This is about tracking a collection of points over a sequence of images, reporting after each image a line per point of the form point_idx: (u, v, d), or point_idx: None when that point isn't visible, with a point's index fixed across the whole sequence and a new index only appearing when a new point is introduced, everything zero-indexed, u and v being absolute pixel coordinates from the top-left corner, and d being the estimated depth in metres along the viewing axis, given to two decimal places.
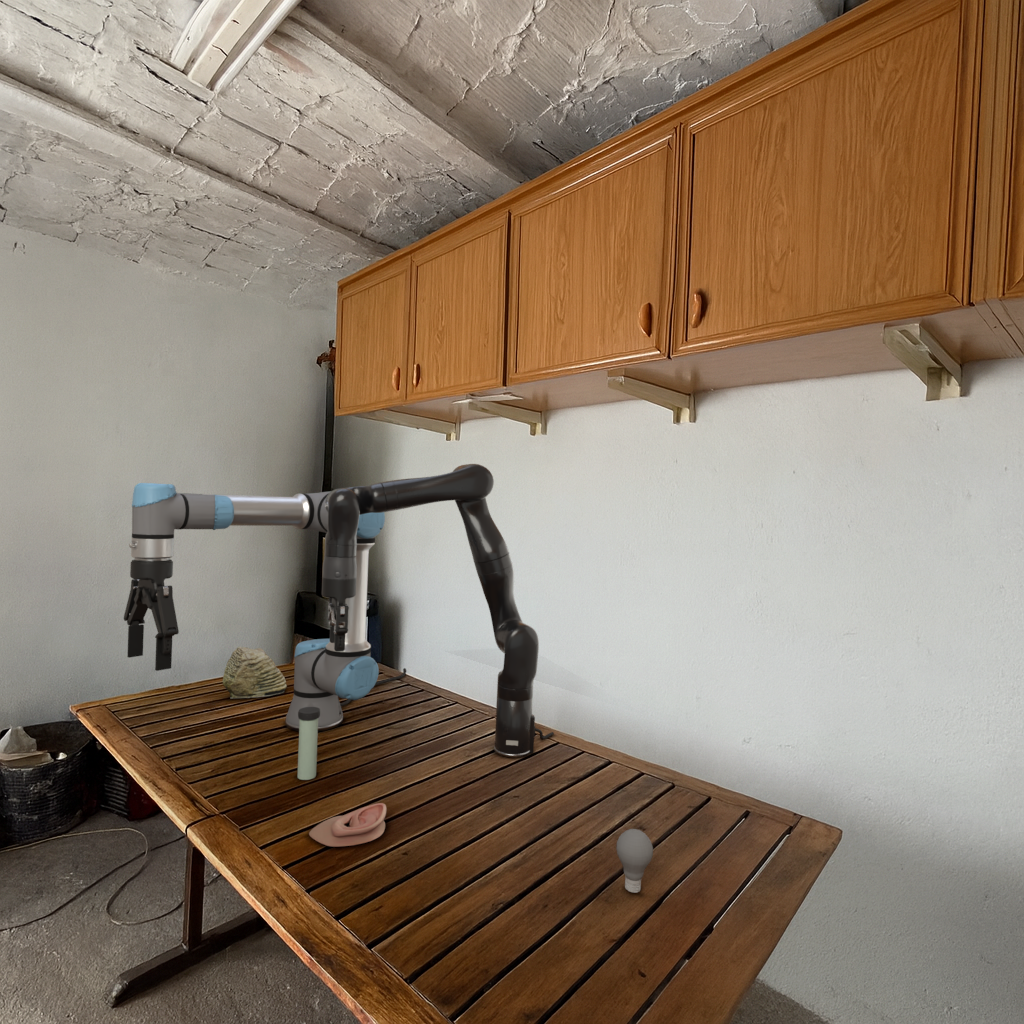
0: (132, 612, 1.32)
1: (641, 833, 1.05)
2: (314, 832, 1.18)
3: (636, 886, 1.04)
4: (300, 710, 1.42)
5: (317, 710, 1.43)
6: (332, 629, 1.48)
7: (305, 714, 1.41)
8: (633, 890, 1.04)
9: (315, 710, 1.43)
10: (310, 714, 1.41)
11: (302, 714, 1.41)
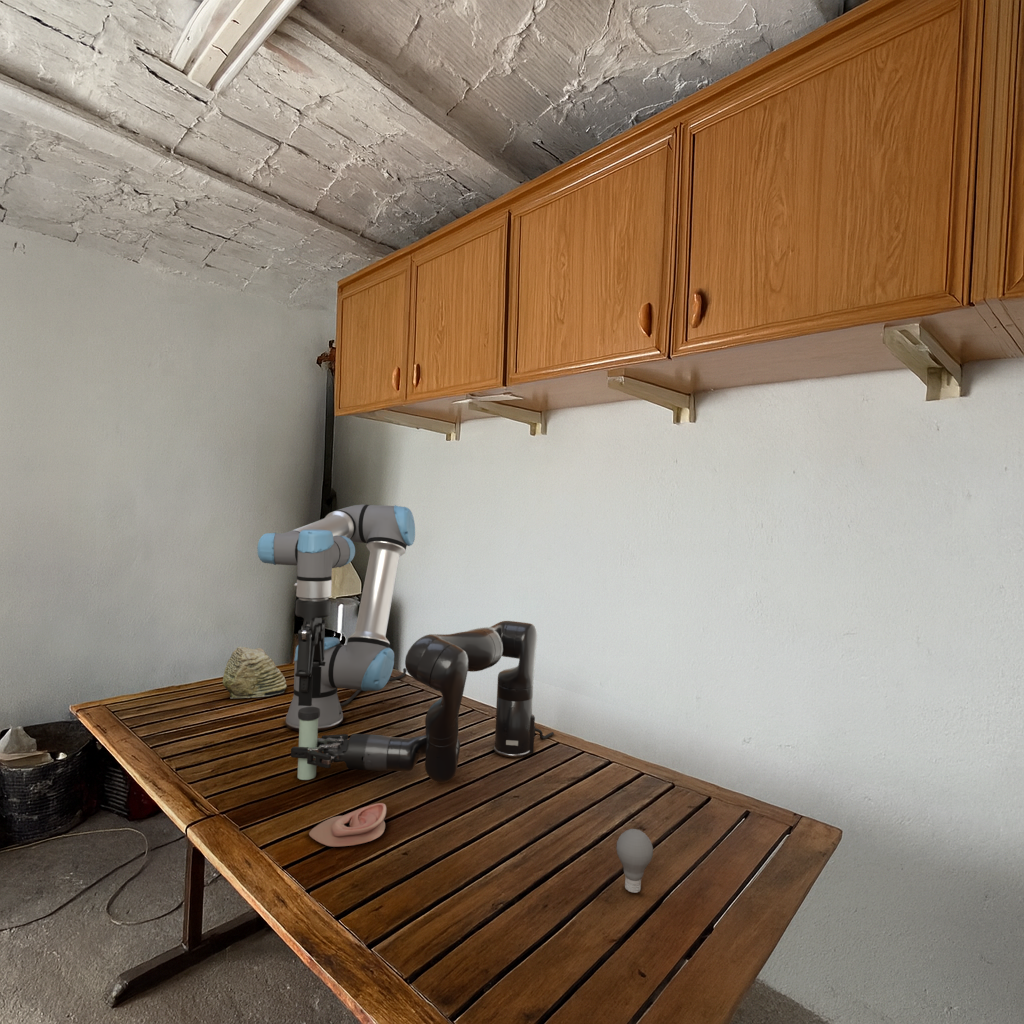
0: None
1: (641, 833, 1.05)
2: (314, 832, 1.18)
3: (636, 886, 1.04)
4: (300, 710, 1.42)
5: (317, 710, 1.43)
6: None
7: (305, 714, 1.41)
8: (633, 890, 1.04)
9: (315, 710, 1.43)
10: (310, 714, 1.41)
11: (302, 714, 1.41)
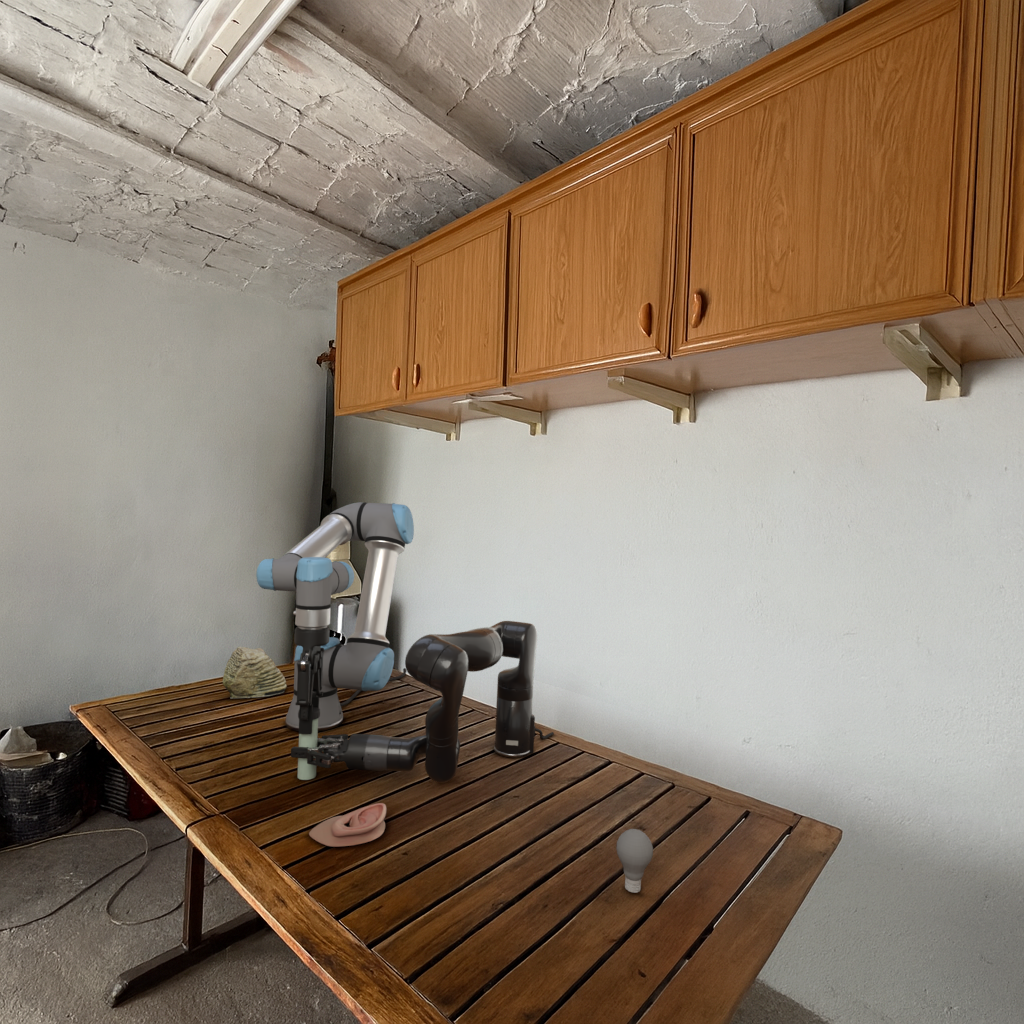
0: None
1: (641, 833, 1.05)
2: (314, 832, 1.18)
3: (636, 886, 1.04)
4: None
5: (317, 710, 1.43)
6: None
7: None
8: (633, 890, 1.04)
9: (315, 710, 1.43)
10: None
11: None
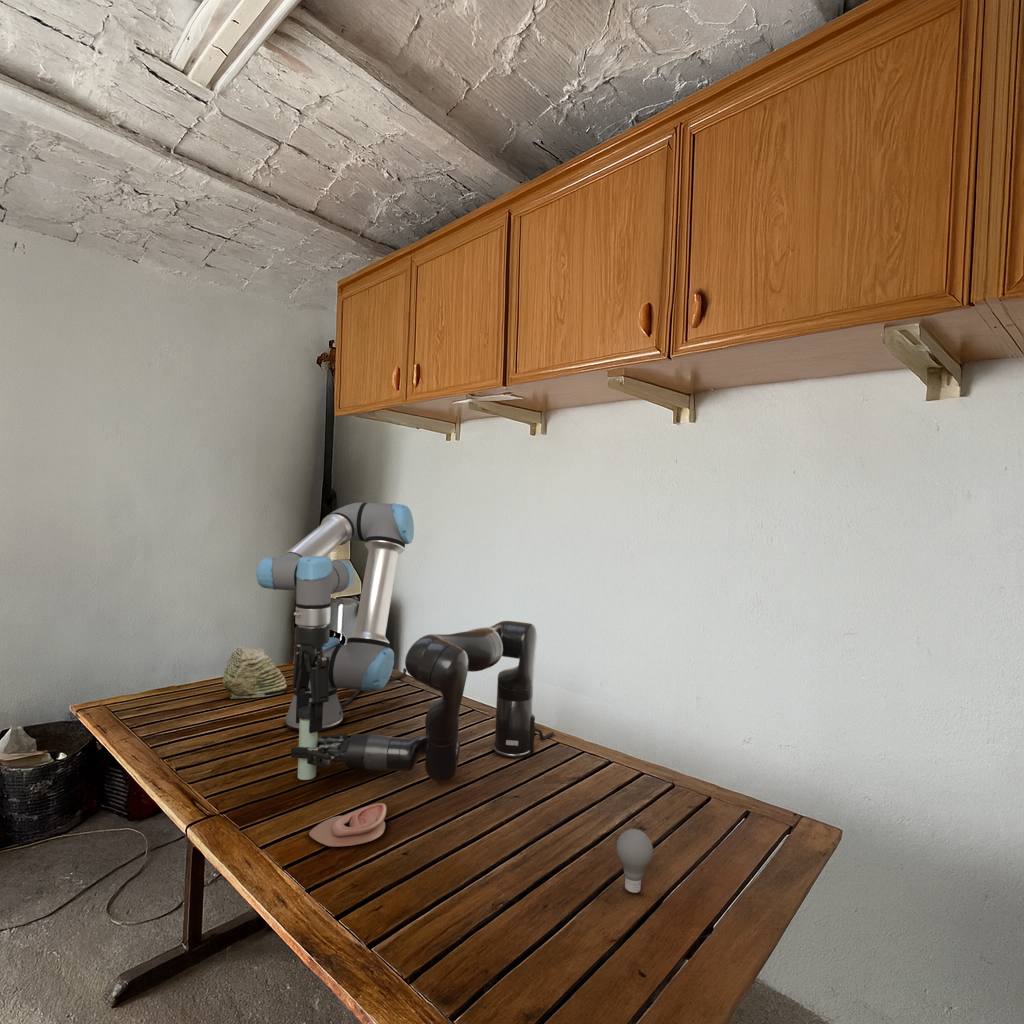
0: (298, 679, 1.45)
1: (641, 833, 1.05)
2: (314, 832, 1.18)
3: (636, 886, 1.04)
4: (308, 711, 1.41)
5: None
6: None
7: None
8: (633, 890, 1.04)
9: None
10: None
11: None
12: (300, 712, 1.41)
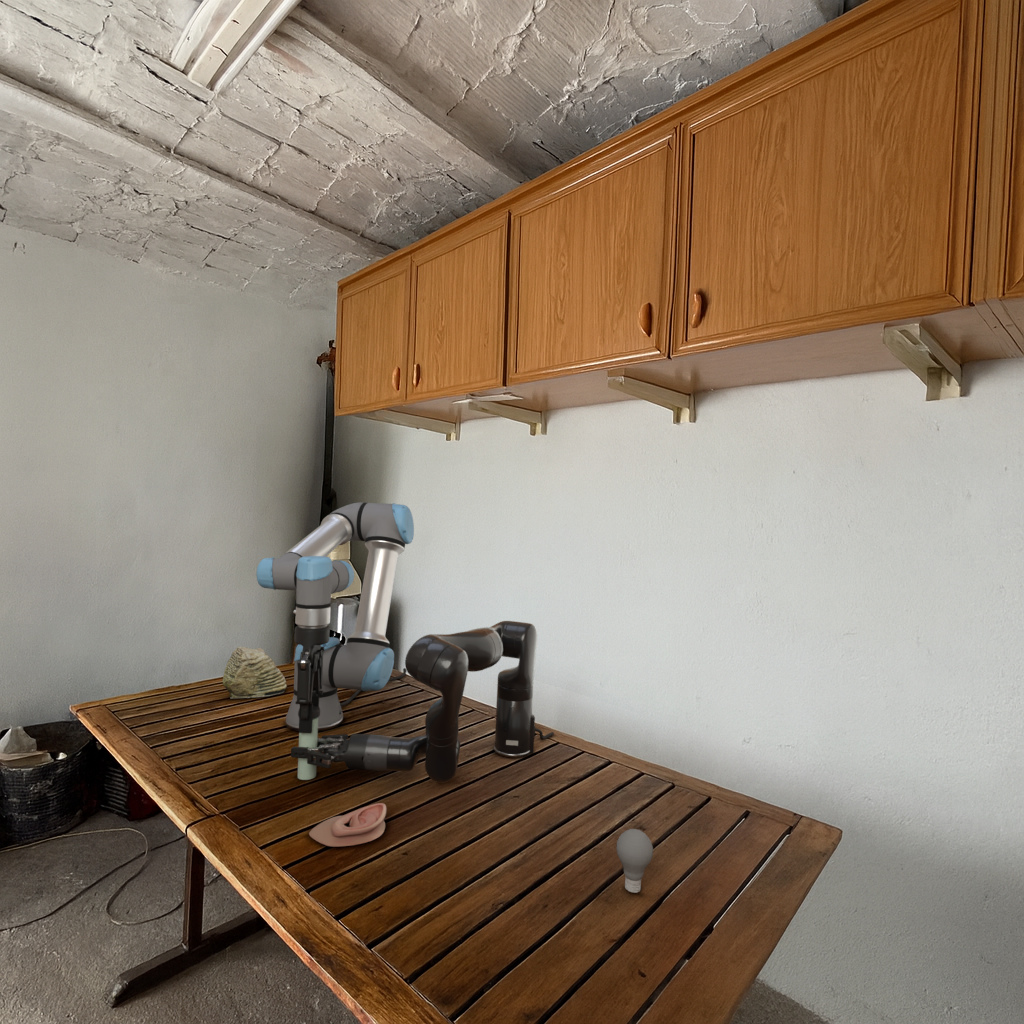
0: None
1: (641, 833, 1.05)
2: (314, 832, 1.18)
3: (636, 886, 1.04)
4: None
5: None
6: None
7: (318, 711, 1.43)
8: (633, 890, 1.04)
9: None
10: (319, 709, 1.44)
11: (316, 712, 1.42)
12: None
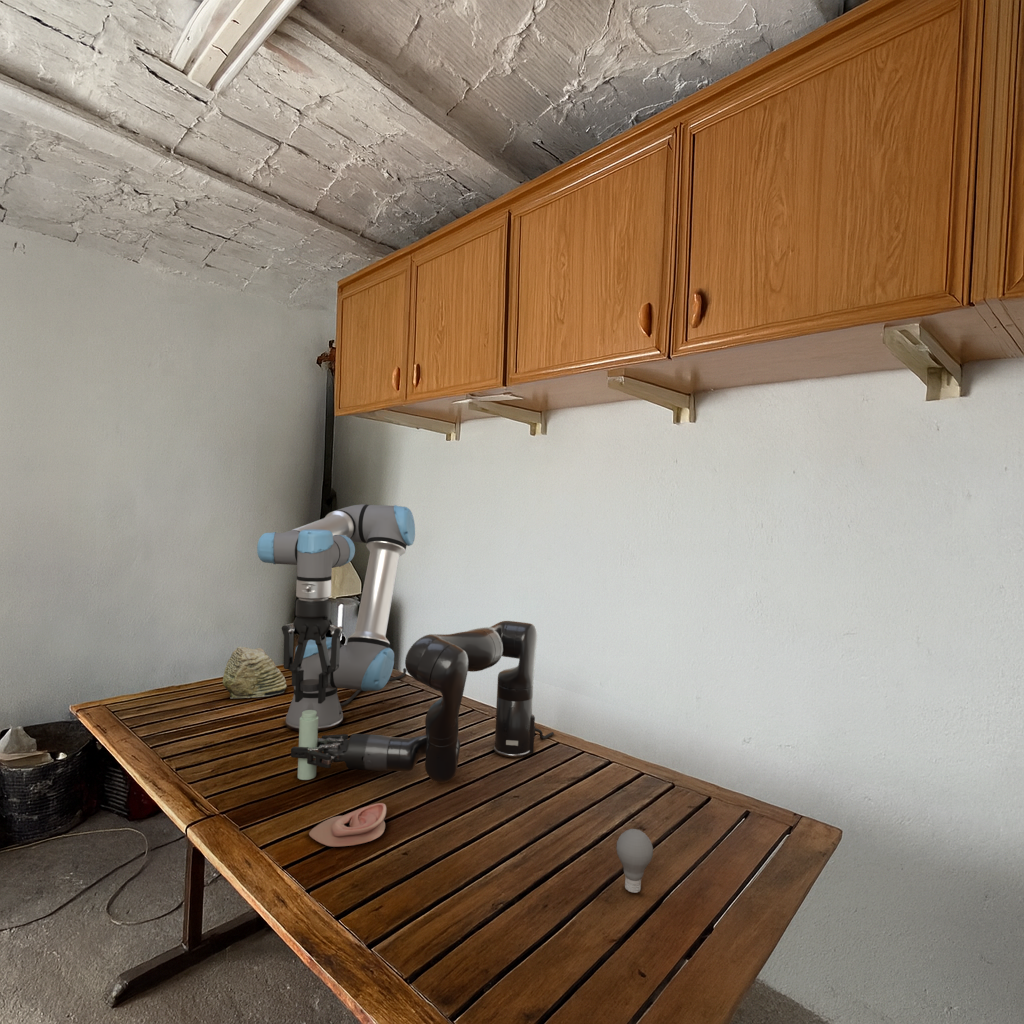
0: (297, 656, 1.42)
1: (641, 833, 1.05)
2: (314, 832, 1.18)
3: (636, 886, 1.04)
4: None
5: (303, 681, 1.43)
6: None
7: None
8: (633, 890, 1.04)
9: (305, 681, 1.43)
10: None
11: None
12: (315, 685, 1.42)
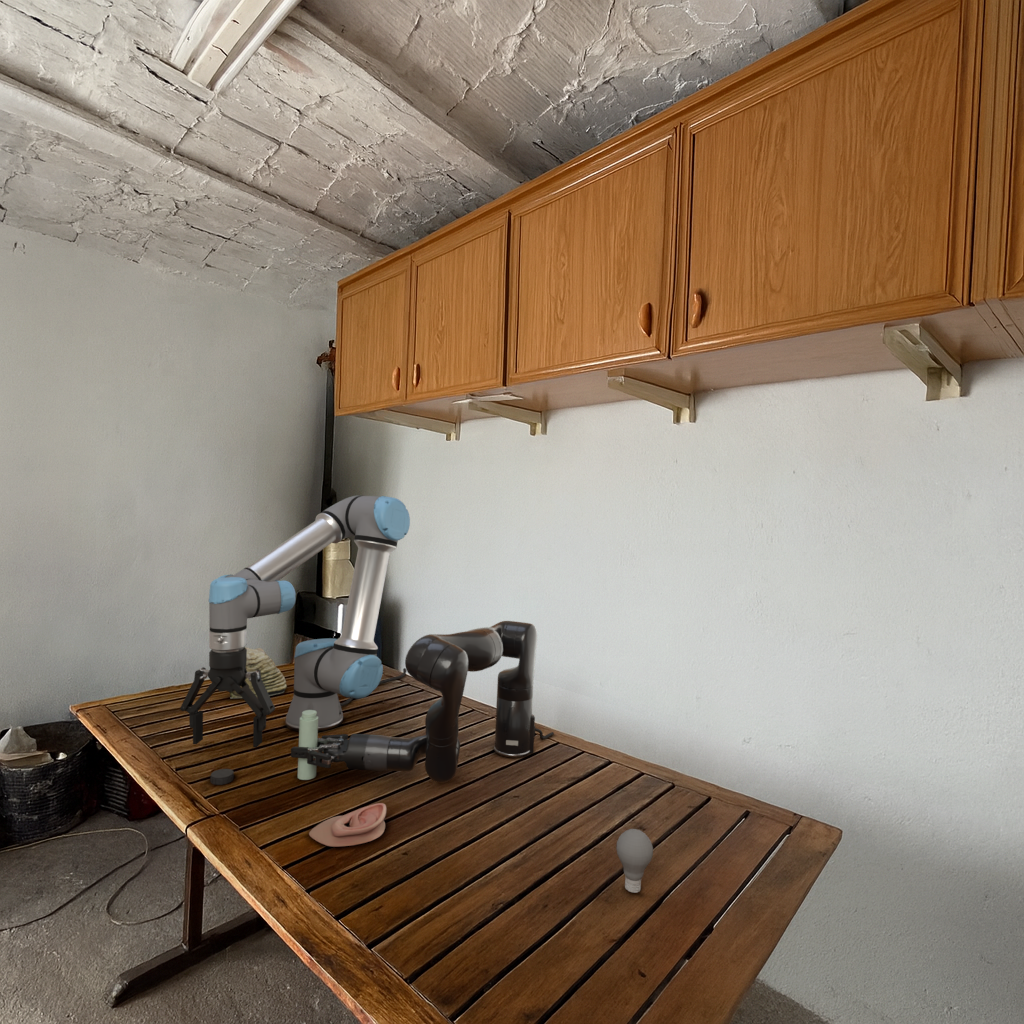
0: (199, 701, 1.39)
1: (641, 833, 1.05)
2: (314, 832, 1.18)
3: (636, 886, 1.04)
4: (231, 773, 1.40)
5: (214, 772, 1.40)
6: None
7: None
8: (633, 890, 1.04)
9: (216, 772, 1.40)
10: None
11: None
12: (226, 777, 1.38)
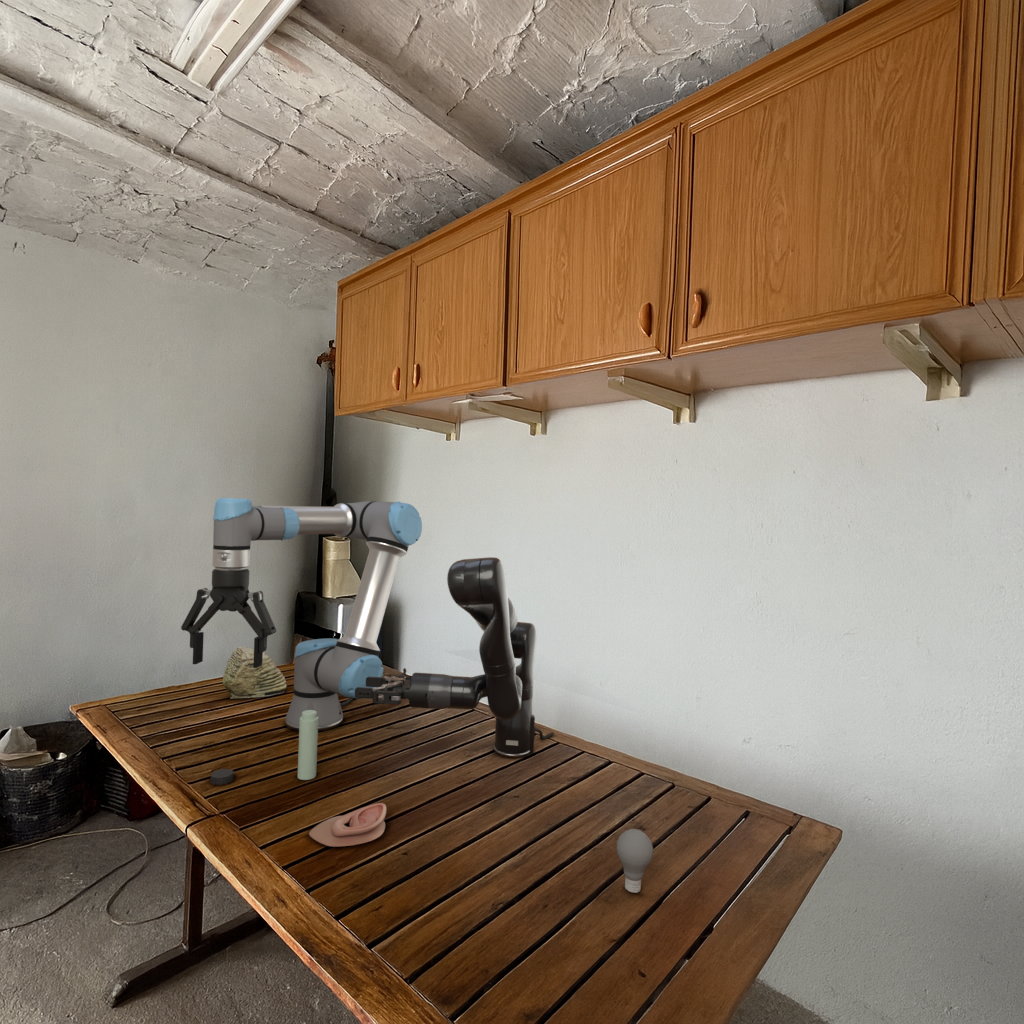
0: (200, 620, 1.38)
1: (641, 833, 1.05)
2: (314, 832, 1.18)
3: (636, 886, 1.04)
4: (231, 773, 1.40)
5: (214, 772, 1.40)
6: None
7: None
8: (633, 890, 1.04)
9: (216, 772, 1.40)
10: None
11: None
12: (226, 777, 1.38)
